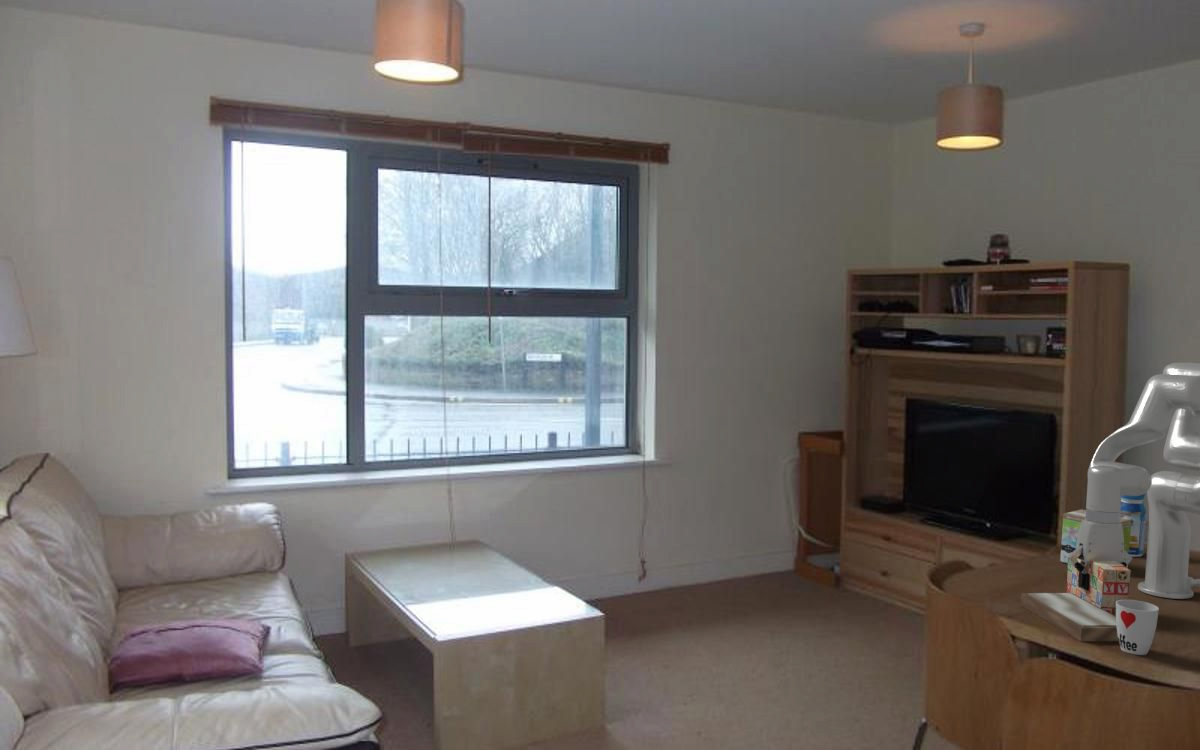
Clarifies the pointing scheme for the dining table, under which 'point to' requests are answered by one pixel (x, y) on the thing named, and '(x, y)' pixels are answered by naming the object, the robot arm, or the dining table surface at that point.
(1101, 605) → the stack of blocks
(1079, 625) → the picture frame
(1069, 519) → the tea box
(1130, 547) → the beverage bottle
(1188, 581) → the robot arm
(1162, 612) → the dining table surface
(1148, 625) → the cup
